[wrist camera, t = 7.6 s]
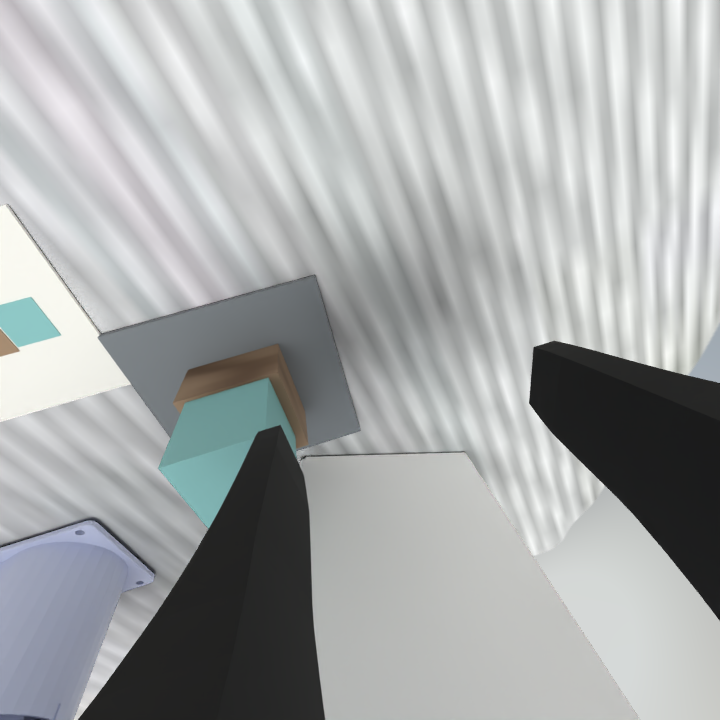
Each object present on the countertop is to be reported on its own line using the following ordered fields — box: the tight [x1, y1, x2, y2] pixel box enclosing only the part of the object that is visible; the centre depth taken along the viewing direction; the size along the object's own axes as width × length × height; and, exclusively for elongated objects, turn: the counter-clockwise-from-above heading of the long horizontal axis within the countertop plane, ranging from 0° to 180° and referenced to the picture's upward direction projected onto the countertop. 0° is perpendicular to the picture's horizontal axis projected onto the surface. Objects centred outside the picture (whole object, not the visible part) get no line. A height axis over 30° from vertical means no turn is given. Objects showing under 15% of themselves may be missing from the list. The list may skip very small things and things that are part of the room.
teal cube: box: [158, 378, 297, 529], centre depth 15 cm, size 4×4×4 cm
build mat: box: [97, 275, 360, 451], centre depth 19 cm, size 11×11×1 cm
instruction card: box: [0, 205, 131, 422], centre depth 15 cm, size 7×9×1 cm
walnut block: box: [173, 344, 308, 449], centre depth 18 cm, size 5×5×3 cm
